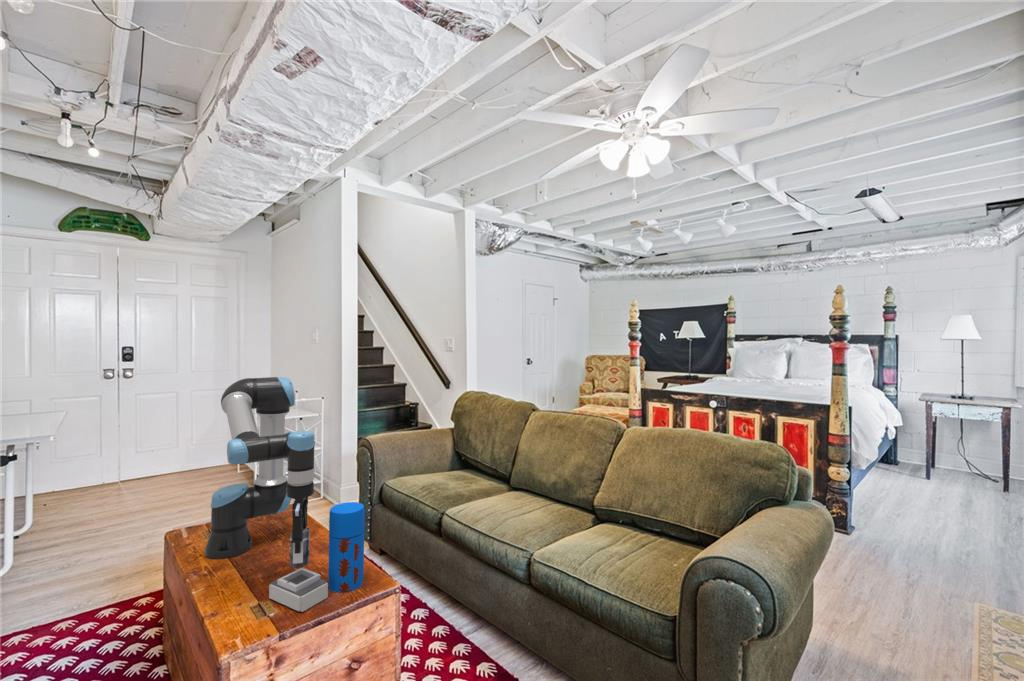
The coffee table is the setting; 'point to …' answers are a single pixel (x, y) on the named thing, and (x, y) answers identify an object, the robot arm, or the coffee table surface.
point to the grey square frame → (299, 589)
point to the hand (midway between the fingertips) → (299, 557)
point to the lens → (305, 550)
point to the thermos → (346, 547)
